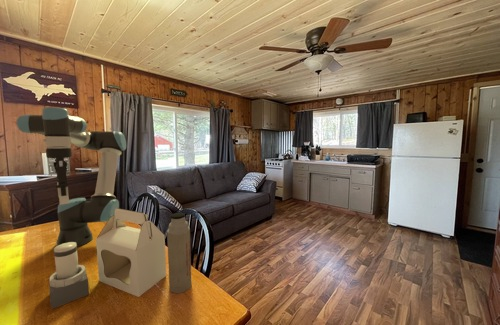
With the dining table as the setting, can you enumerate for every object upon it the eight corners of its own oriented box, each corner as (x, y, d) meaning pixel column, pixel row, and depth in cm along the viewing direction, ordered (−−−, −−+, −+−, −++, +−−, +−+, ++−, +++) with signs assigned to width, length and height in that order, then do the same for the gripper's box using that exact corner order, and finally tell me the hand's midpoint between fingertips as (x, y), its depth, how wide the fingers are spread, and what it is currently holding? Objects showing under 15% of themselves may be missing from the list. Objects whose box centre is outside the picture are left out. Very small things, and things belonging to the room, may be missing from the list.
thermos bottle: (195, 280, 84) (193, 211, 82) (185, 294, 77) (182, 219, 74) (176, 277, 86) (174, 210, 83) (165, 291, 78) (161, 217, 75)
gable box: (167, 275, 87) (164, 209, 84) (139, 297, 75) (134, 220, 72) (129, 263, 96) (125, 202, 93) (98, 281, 84) (93, 212, 81)
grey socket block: (51, 293, 77) (48, 272, 76) (85, 280, 84) (84, 261, 83) (51, 309, 70) (48, 286, 69) (89, 294, 77) (87, 273, 76)
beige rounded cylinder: (78, 270, 81) (75, 240, 79) (80, 278, 76) (77, 246, 75) (56, 277, 77) (53, 245, 75) (57, 286, 72) (53, 252, 71)
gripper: (45, 147, 91) (50, 195, 93) (45, 148, 73) (51, 209, 75) (68, 146, 96) (73, 193, 98) (73, 148, 78) (78, 205, 80)
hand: (63, 200), depth 87 cm, fingers open, 13 cm apart
